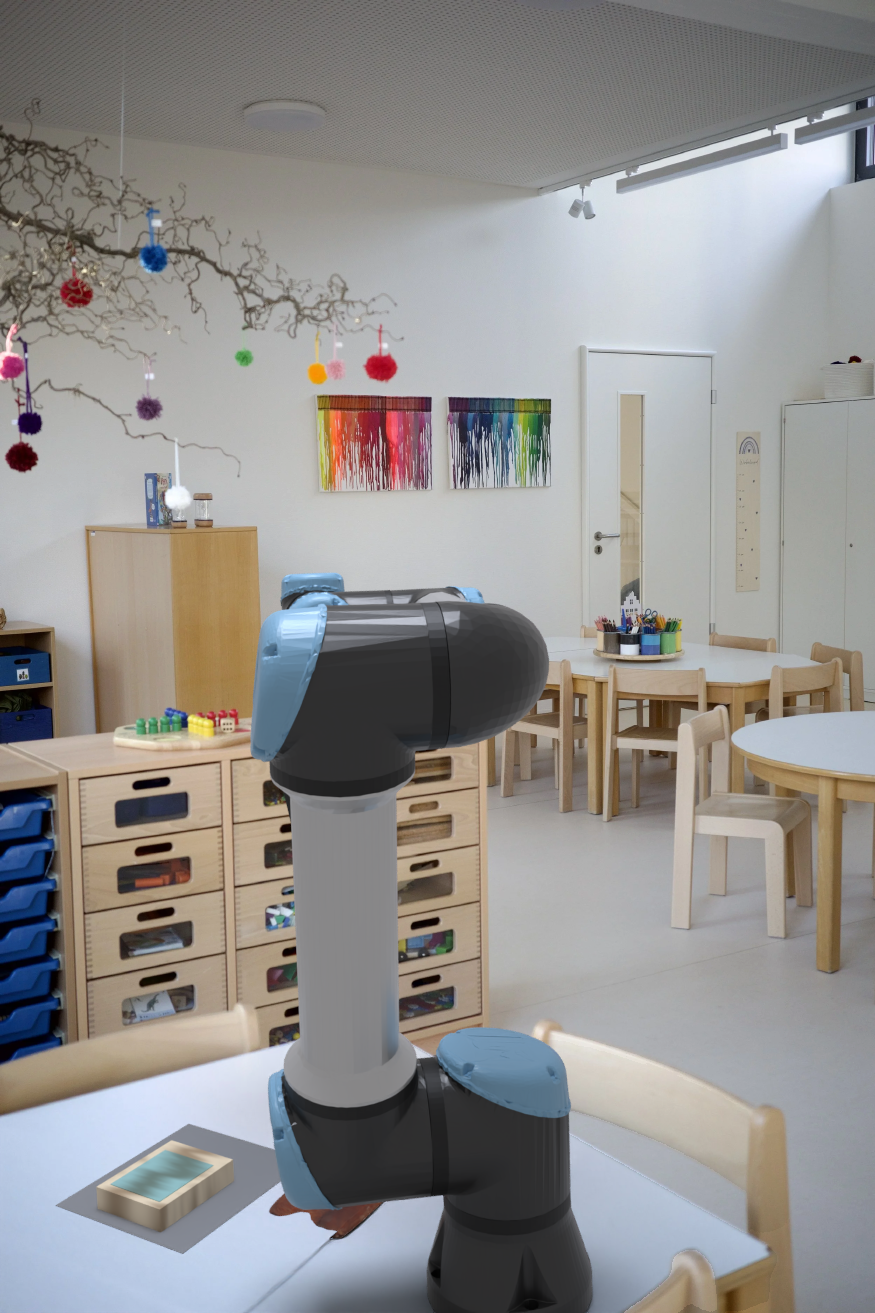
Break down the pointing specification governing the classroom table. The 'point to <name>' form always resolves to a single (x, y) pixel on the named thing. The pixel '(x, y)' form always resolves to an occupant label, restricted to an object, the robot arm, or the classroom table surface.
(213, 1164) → the beech board
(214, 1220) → the grey mat
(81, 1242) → the classroom table surface
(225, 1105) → the classroom table surface
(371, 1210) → the wooden tablet
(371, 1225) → the classroom table surface
